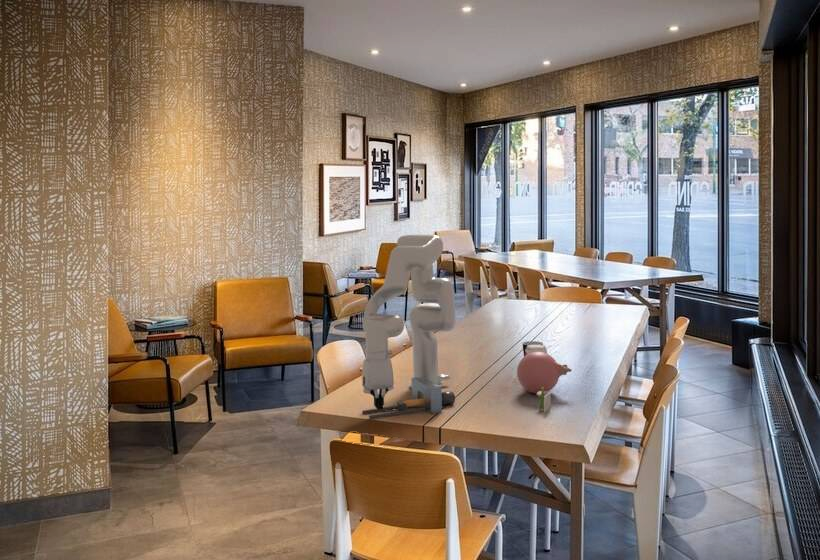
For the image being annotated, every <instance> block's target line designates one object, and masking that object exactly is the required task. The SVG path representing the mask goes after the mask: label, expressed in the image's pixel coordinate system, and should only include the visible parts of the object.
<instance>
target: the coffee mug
mask: <svg viewBox="0 0 820 560" xmlns="http://www.w3.org/2000/svg"><path fill="white" fill-rule="evenodd" d="M532 344H540V345H544V343H543V342H542V341H534V340H532V341H531V340H529V341H523V342H522V344H521V345H522V351H523V357H524V356H525V350H526V348H527V345H532Z"/></svg>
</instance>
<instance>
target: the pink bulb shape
mask: <svg viewBox="0 0 820 560" xmlns="http://www.w3.org/2000/svg"><path fill="white" fill-rule="evenodd" d="M569 372H570V373H571V372H572V369H571V368H570V367H569V366H568V365H567V364H566V363H565V364H560V363H559V362H557V361H556V360H555V358H554V357H552V355H550V354H548V353H547V354H546V353H544V352H532V353H529V354H527V355H526V356H524V355H523V357H522V358H521V360H520V361H519V363H518V365H517V368H516V376H517V380H518V381H519V384H520V385H521V387H522V388H524V389H525V390H526V391H527V392H529V393H531V394H536V395H537V393H538V392H539V391H541V388H542V387H544V392H551V391H552V390H553V389H554V388H555V386H556V385H557V384H558V382H559V379H560V378H561V377H562V376H566V375H567V374H568V373H569Z"/></svg>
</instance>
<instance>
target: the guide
mask: <svg viewBox="0 0 820 560" xmlns="http://www.w3.org/2000/svg"><path fill="white" fill-rule="evenodd" d="M393 409H396V411H393ZM385 410H389V411H392V412H386V411H385ZM378 411H382V413H379V412H378ZM421 411H422V412H426V411H425V407H418V408H411V409H406V410H404V411H397V405H391V406H385V407H384V406H383V409H379V410H378V409H377V408H371V409H363V410H362V411H361V413H362V415H366V414H367V413H368V414H370V415H368V414H367V415H368V419H369V420H375V419H380V418H381V417H382V418H387V416H389V417H394V415H395V416H402V415H407V413H409V414H414V412H416V413H420V412H421ZM373 412H375V414H373ZM383 412H385V413H383ZM377 413H379V414H377ZM371 414H372V415H371ZM401 414H402V415H401Z"/></svg>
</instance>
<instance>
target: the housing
mask: <svg viewBox="0 0 820 560" xmlns="http://www.w3.org/2000/svg"><path fill="white" fill-rule="evenodd" d="M410 381H411V382H412V388H411V400H415V399H421V398H425V405H422V406H421V407H423V406H424V408H425V411H424V412H427V413H429V414H430V415H434V414H440V413H442V412H443V405H442V387H441V386H439V385H437V384H435V383H433V382H431V381H429V380H427V379H425V378H423V377H416V378H414V377H411V380H410Z"/></svg>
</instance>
